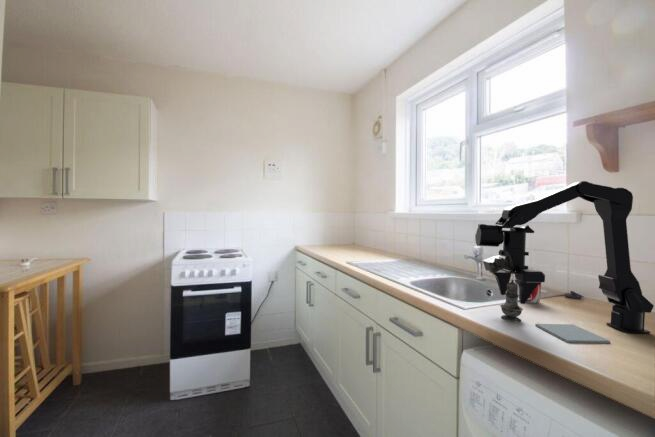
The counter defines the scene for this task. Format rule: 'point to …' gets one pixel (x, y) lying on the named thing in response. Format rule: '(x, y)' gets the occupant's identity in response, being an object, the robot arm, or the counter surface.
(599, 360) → the counter surface
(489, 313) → the counter surface
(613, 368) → the counter surface
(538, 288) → the soda can
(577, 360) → the counter surface
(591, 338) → the coaster
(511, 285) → the grey stone finial
